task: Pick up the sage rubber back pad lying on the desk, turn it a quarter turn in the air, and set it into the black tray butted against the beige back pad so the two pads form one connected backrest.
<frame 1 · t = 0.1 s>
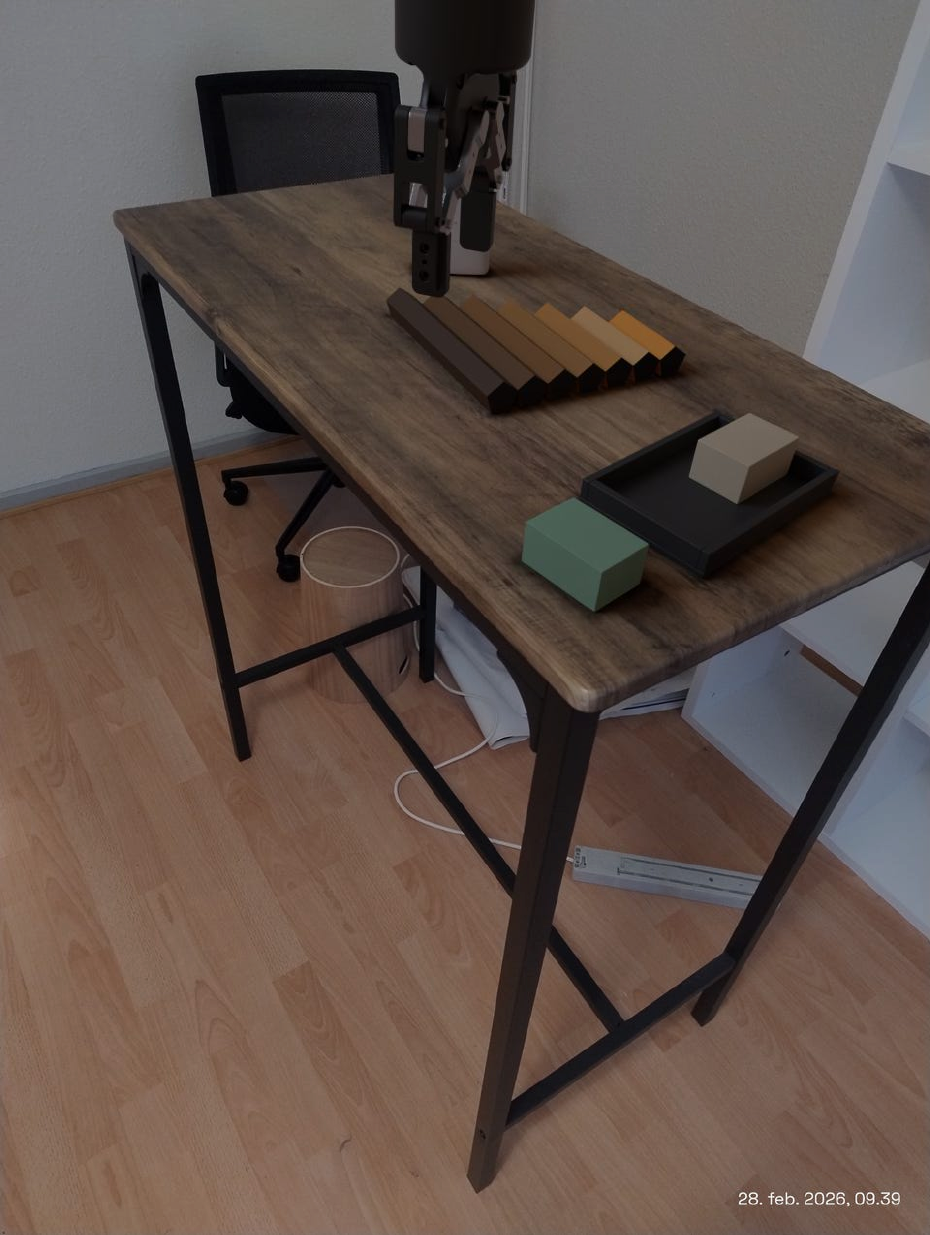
hand: (454, 270, 56), 23 cm above the table, tool pointing down, fingers open, 8 cm apart
sage pad: (580, 572, 70), on the table
beige pad: (738, 475, 81), resting on tray
photo printer: (449, 271, 116), on the table
tray: (707, 497, 79), on the table
pan flute: (528, 345, 100), on the table
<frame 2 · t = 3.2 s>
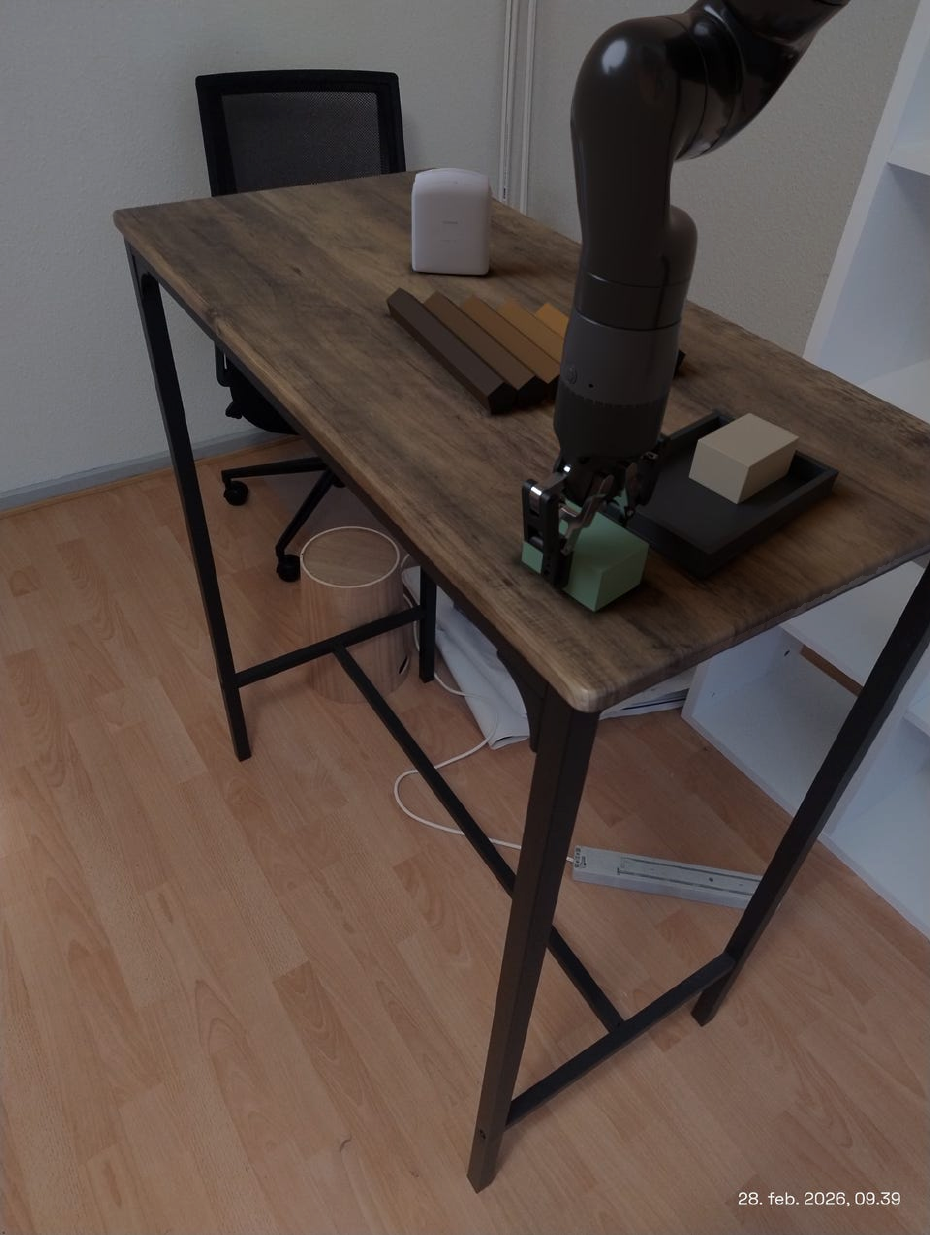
hand: (581, 566, 70), 1 cm above the table, tool pointing down, fingers closed on sage pad, 5 cm apart
sage pad: (580, 572, 70), on the table, touching gripper
everything else where it was.
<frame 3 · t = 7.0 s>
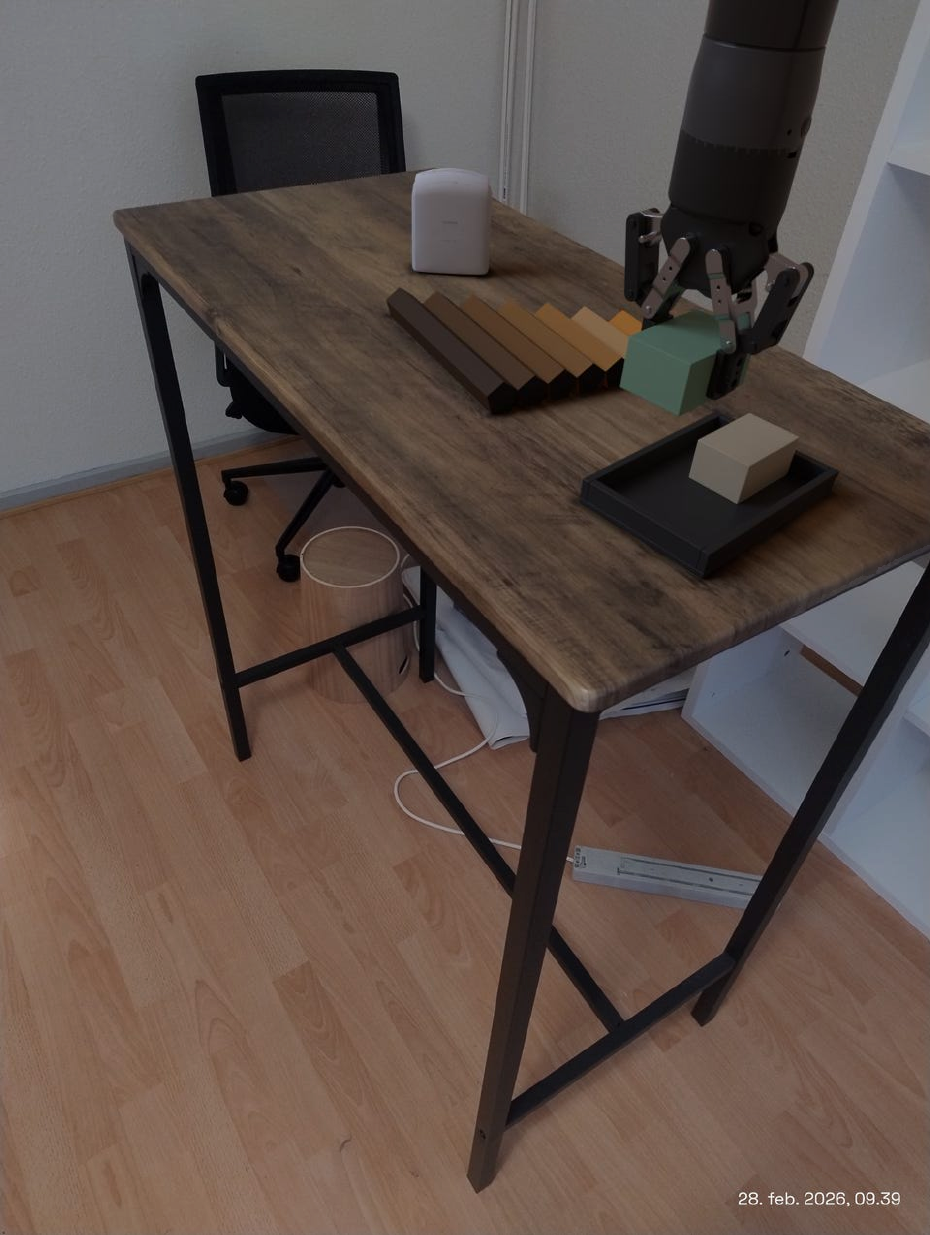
hand: (683, 379, 65), 14 cm above the table, tool pointing down, fingers closed on sage pad, 5 cm apart
sage pad: (681, 385, 65), point 14 cm above the table, touching gripper
everything else where it was.
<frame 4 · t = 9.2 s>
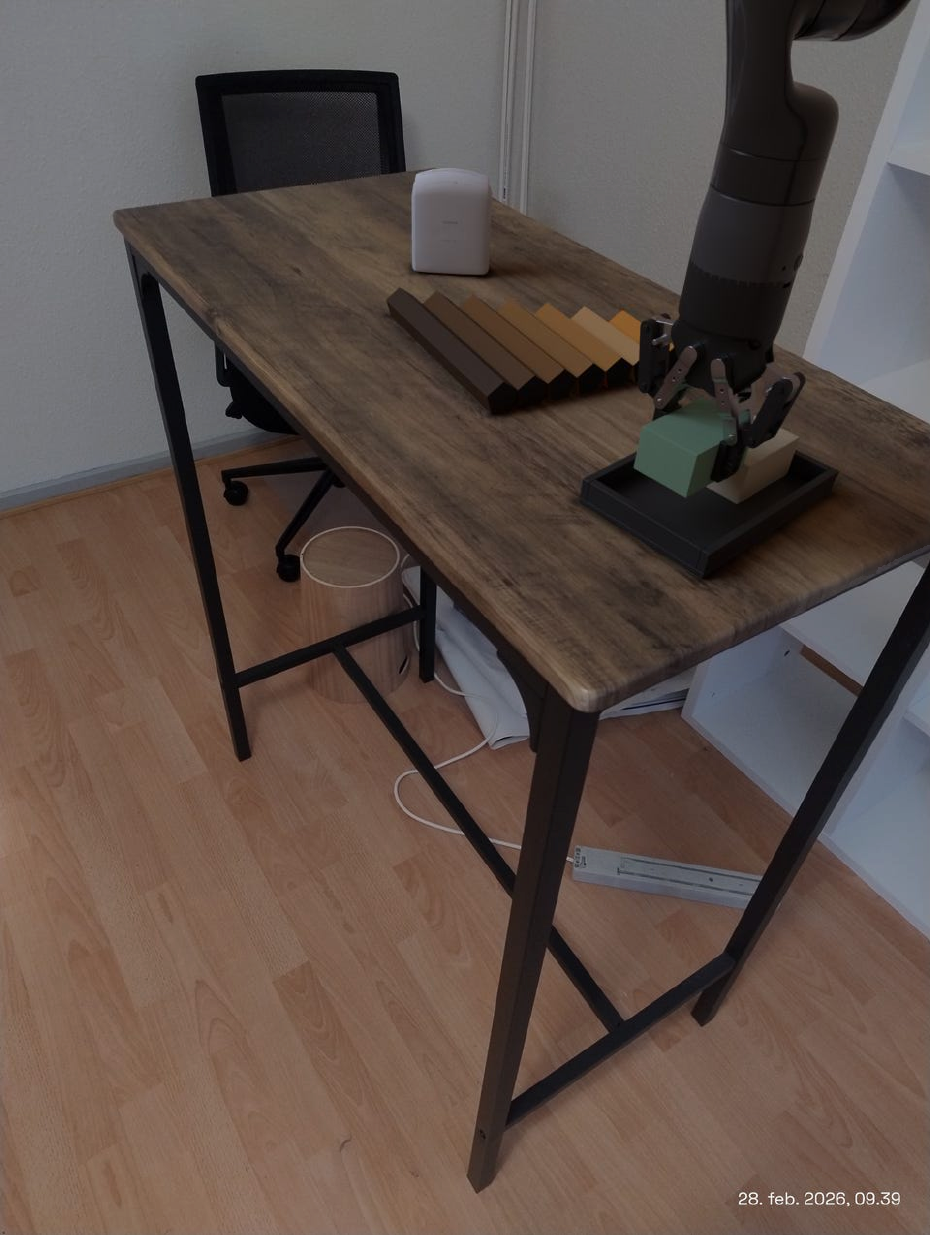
hand: (690, 461, 73), 6 cm above the table, tool pointing down, fingers closed on sage pad, 5 cm apart
sage pad: (688, 466, 73), point 5 cm above the table, touching gripper
everything else where it was.
when the fingers open (1 cm above the table, at t = 10.8 s): sage pad stays where it is, resting on tray.
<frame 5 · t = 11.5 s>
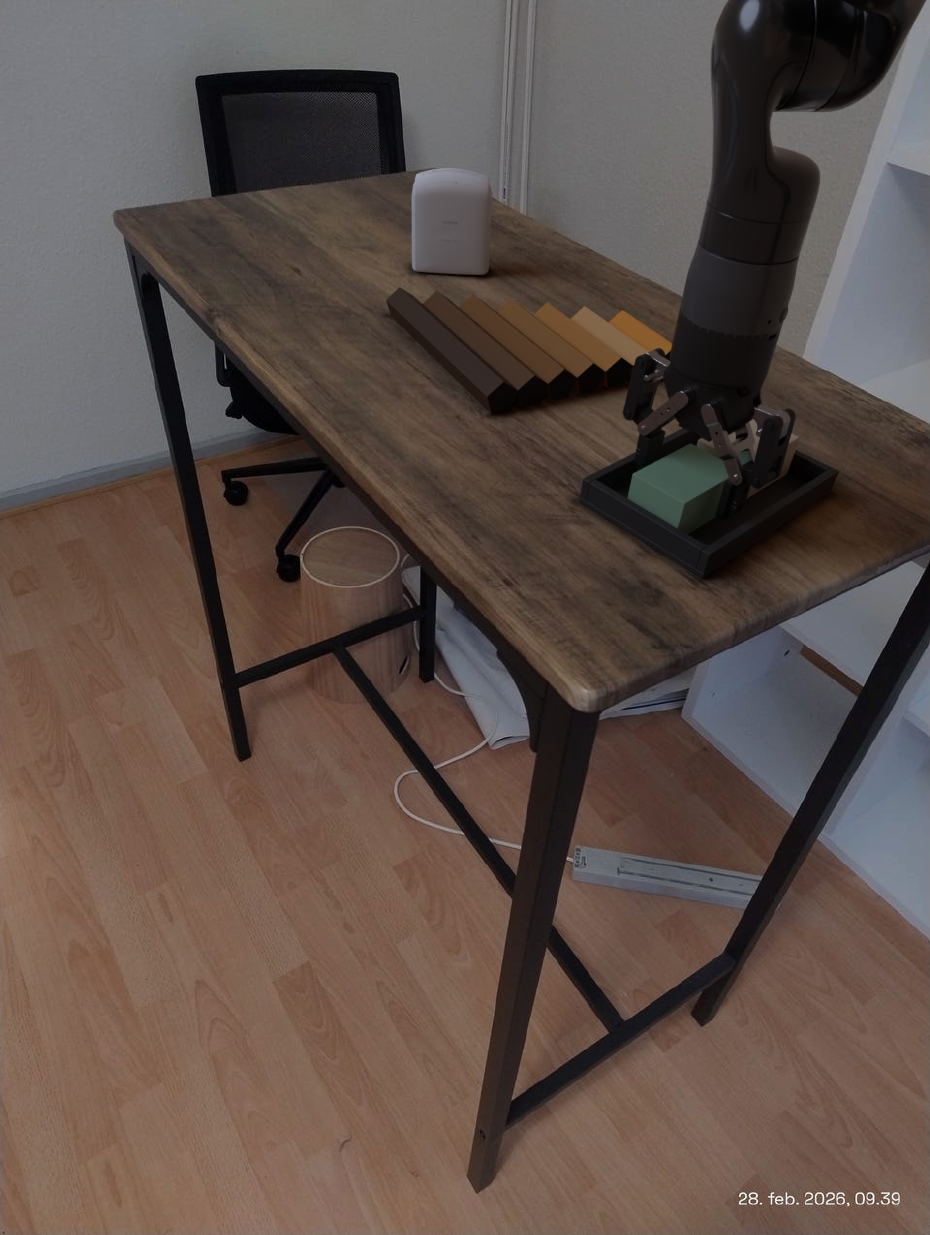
hand: (684, 492, 75), 2 cm above the table, tool pointing down, fingers open, 8 cm apart
sage pad: (677, 510, 76), resting on tray
everything else where it was.
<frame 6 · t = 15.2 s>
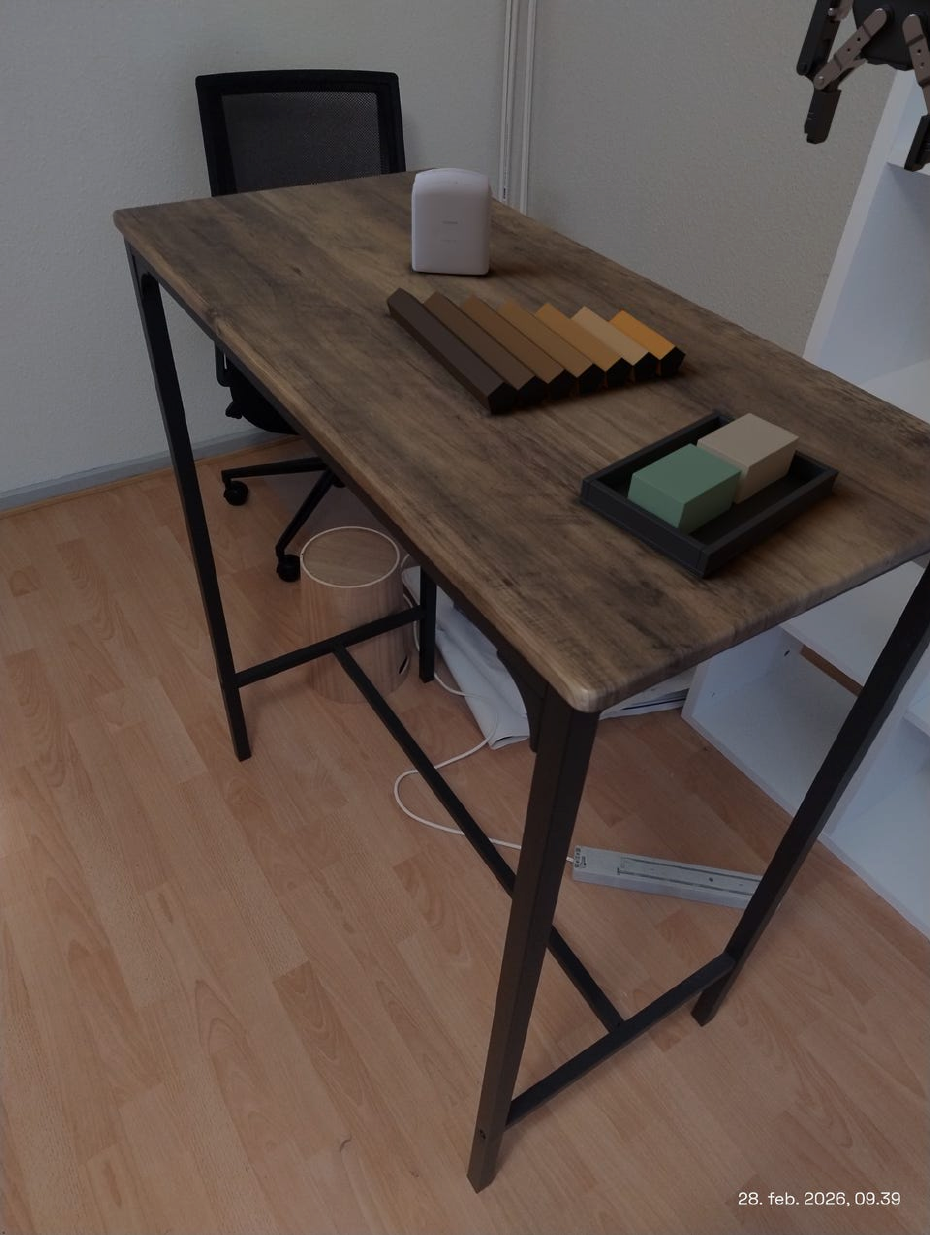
hand: (863, 155, 69), 26 cm above the table, tool pointing down, fingers open, 8 cm apart
nothing on the table moved.
at the end: sage pad 0.1 cm from the target spot in the tray, point 0.5 cm above the tray's base; sage pad 9.0 cm from the beige pad (horizontally); sage pad tilted 0° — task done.
